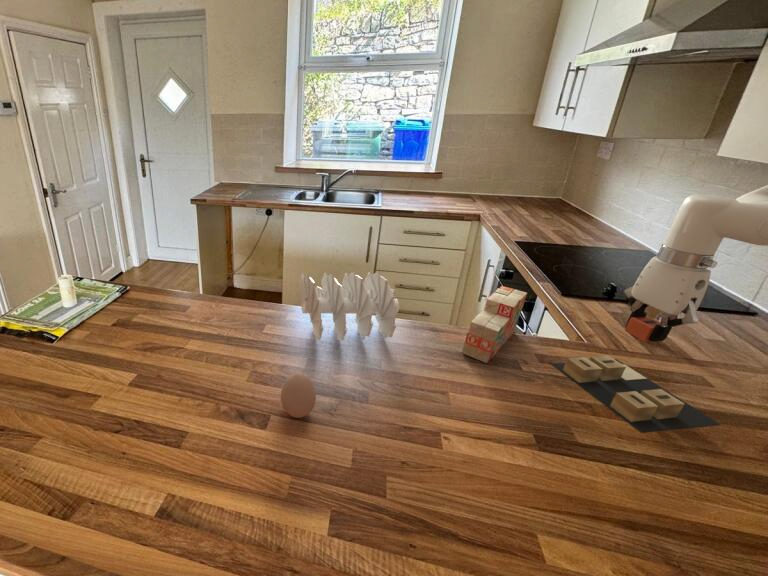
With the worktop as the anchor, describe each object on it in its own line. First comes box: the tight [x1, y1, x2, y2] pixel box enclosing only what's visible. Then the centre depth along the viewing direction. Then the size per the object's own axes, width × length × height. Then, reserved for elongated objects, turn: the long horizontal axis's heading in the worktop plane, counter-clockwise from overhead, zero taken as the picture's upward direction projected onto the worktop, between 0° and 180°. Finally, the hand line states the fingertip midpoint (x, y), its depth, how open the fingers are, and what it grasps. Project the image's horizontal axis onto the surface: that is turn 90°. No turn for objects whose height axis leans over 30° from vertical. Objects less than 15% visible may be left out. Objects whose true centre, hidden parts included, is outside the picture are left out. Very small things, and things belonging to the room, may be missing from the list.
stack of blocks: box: [461, 285, 528, 364], centre depth 102 cm, size 21×6×12 cm, turn 135°
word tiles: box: [563, 354, 684, 422], centre depth 86 cm, size 10×16×4 cm, turn 7°
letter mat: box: [550, 358, 722, 434], centre depth 87 cm, size 18×22×1 cm
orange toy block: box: [624, 317, 661, 343], centre depth 88 cm, size 4×4×4 cm
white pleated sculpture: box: [298, 270, 400, 342], centre depth 104 cm, size 18×18×25 cm
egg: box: [280, 372, 317, 419], centre depth 78 cm, size 7×7×10 cm
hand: (643, 333), depth 89 cm, fingers closed on orange toy block, 4 cm apart
